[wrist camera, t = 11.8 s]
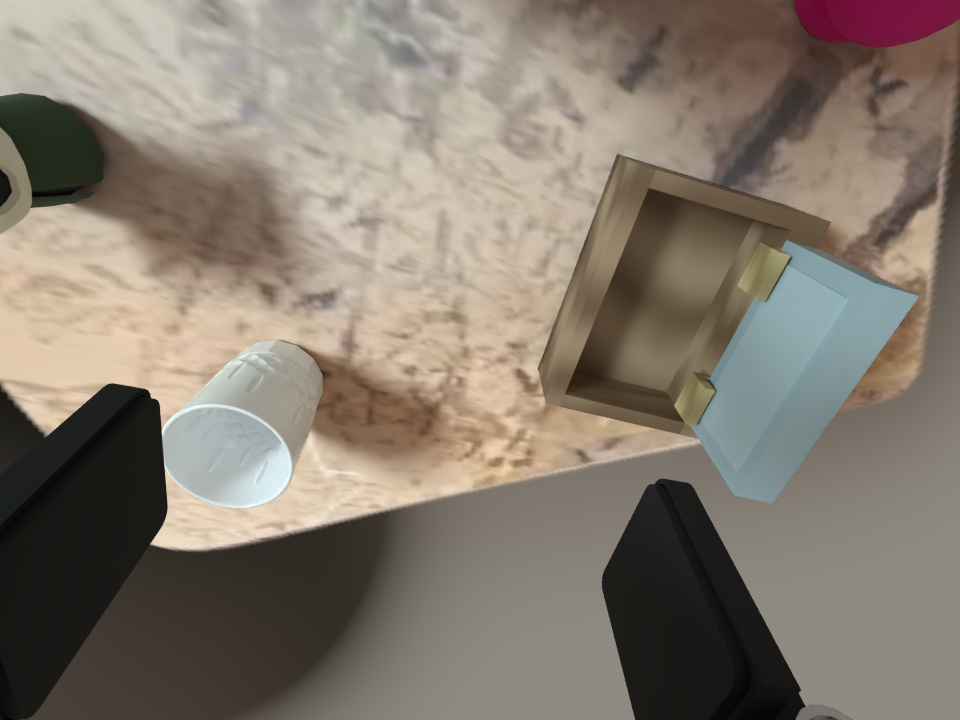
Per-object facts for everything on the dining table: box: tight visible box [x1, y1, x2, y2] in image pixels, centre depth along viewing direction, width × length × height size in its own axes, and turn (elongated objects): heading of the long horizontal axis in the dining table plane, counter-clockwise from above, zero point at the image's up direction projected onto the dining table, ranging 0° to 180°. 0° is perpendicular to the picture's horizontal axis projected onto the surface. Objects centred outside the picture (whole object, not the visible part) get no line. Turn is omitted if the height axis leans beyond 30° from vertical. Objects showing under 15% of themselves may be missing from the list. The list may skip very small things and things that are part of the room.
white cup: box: [162, 340, 323, 508], centre depth 36 cm, size 8×8×10 cm
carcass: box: [538, 154, 831, 438], centre depth 34 cm, size 16×13×7 cm
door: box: [690, 240, 919, 504], centre depth 30 cm, size 13×3×8 cm, turn 164°
